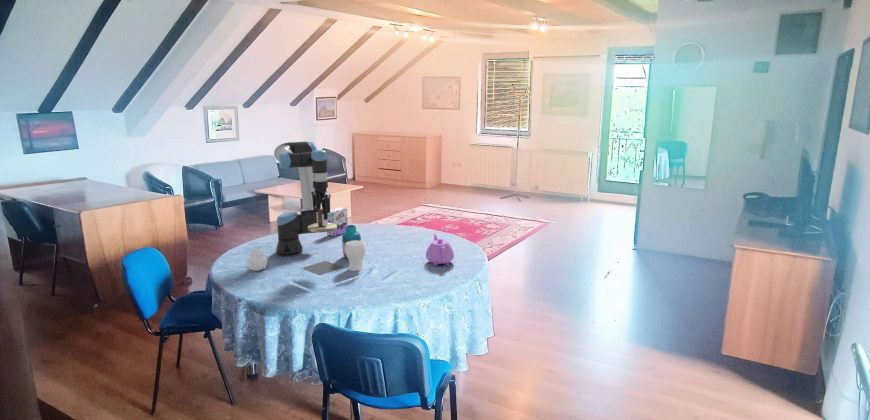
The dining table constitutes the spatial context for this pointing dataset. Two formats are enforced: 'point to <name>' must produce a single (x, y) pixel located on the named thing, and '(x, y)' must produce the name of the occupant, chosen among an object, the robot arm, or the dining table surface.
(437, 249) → the teapot
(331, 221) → the candy box
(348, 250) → the cup
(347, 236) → the vase
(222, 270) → the dining table surface
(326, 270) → the mat
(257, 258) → the figurine
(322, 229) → the lid
